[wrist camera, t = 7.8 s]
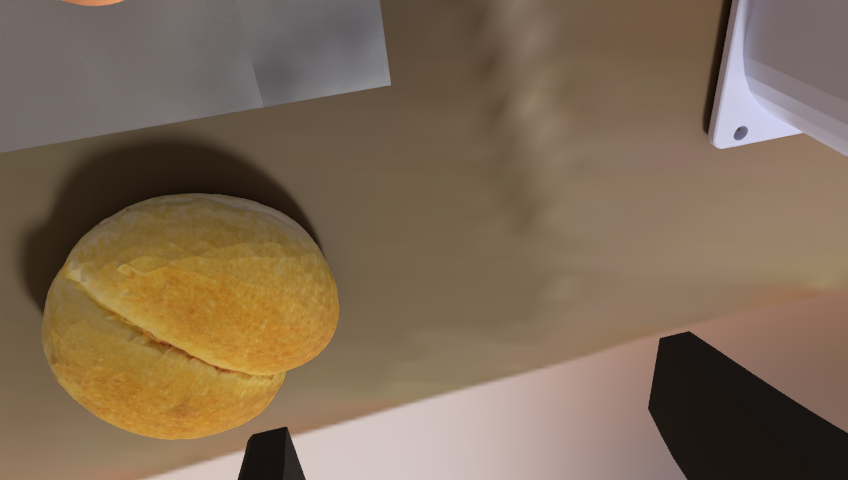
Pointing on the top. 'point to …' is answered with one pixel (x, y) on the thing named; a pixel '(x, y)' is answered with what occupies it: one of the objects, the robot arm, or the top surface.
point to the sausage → (93, 2)
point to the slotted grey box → (175, 61)
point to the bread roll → (187, 313)
